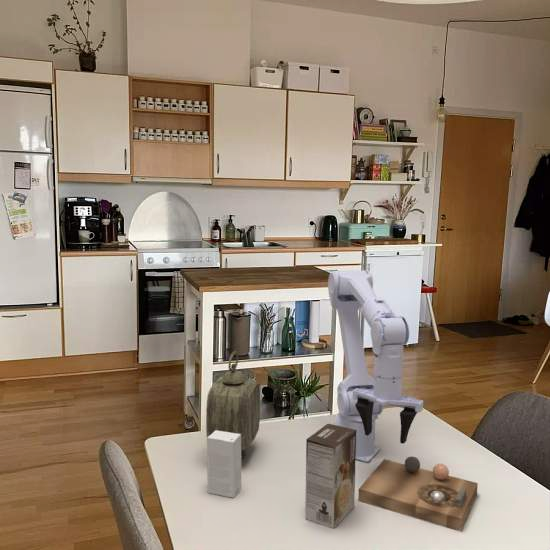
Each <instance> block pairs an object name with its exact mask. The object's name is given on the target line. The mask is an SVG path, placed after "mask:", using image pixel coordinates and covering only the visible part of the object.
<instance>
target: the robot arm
mask: <svg viewBox="0 0 550 550" xmlns="http://www.w3.org/2000/svg"><path fill="white" fill-rule="evenodd" d="M327 280H328V282H327V290H328V295H329V296H328V297H329V302H330V306H331V307H332V308H334V309H335V310H336V311H337V316H338V321H339V327H340V329H339V330H340V335H341V341H342V349H343V356H344V363H345V369H346V371H345V372H346V376H345V378H344V379H343V380H341V381H340V382H339V384H338V386H337V391H336V392H337V397H336V398H337V399H336V400H337V401H336V403H337V410H338V413H337V414H336V415H335V418H334V421H333V424H332V425H337V426H342V427H346V428H350V429H354V430H357V431H356V460H357V461H361V462H365V463H369V462H371V460H372V459H373V458H374V457H375V456H376V455H377V454H378V452H379V451H380V450H381V449H380V447H378V446H375V439H376V438H375V433H376V420H378V419H379V416H380V415H381V414H382V413H383V410H384V409H385V408H384V407H385V406H391V407H396V408H401V409H402V410H401V411H400V412H399V419H400V436H399V437H400V438H399V440H400V441H399V442H400V444H402V445H404V444H405V443H406V442H407V439H408V434H409V432H410V428H411V427H412V423H413V421H414V420H415V417H416V415H417V414H418V413H421V412H422V411H423V410H424V400H422V399H417V398H415V397H412V396H408V395H404V394H402V388H403V386H402V384H403V364H404V346H405V345H407V344H408V342H409V339H410V327H409V323H408V321H407V319H406V317H405V316H401V315H400V316H399V315H396V314H395V313H394V312H393V310H392V309H391V307H390V306H389V305H388V303H387V302H386V300H384V298H383V297H378V296H377V295H376V293H375V291H374V289H373V288H374V279H373V275H372V273H371V271H370V270H368V269H364V270H334V269H333V270H332V271H331V272H330V273H329V276H328V279H327ZM359 309H361V314H362V317H363V318H364V320H365V321H366V323H367V325H368V326H369V327H370V338H371V343H372V345H371V346H372V349H371V350H372V352H373V353H374V359H373V360H374V363H373V364H374V366H373V377H372V375H369V373H368V369H367V362H366V355H365V349H364V344H363V343H364V342H363V336H362V330H361V323H360V317H359Z"/></svg>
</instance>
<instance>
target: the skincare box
mask: <svg viewBox="0 0 550 550" xmlns="http://www.w3.org/2000/svg"><path fill="white" fill-rule="evenodd" d="M206 449H207V450H206V453H207V454H206V456H207V457H206V459H207V460H206V461H207V463H206V464H207V465H206V467H207V471H206V472H207V493H208V494H213V495H217V496H222V497H228V498H235V497H236V496H237V495H238V493H239V492H240V491H241V489H242V457H241V434H237V433H230V432H224V431H217V430H215V431H214V432H213V433H212V434H211V435H210V436H209V437H207V436H206Z"/></svg>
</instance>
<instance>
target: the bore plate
mask: <svg viewBox="0 0 550 550" xmlns="http://www.w3.org/2000/svg"><path fill="white" fill-rule="evenodd" d="M478 485H479V483H478V482H475V481H471V480H468V479H463V478H459V477H455V476H452V475H448V477H447V478H446V479H444V480H439V479H437V478H436V477H435V476H434V474H433V470H428V469H424V468H419V470H418V471H416V472H409V471H408V470H407V469H406V468H405V463H401V462H396V461H392V460H389V459H387V458H386V459H385V458H383V460H382V461H381V462H380V463H379V464H378V465H377V466H376V468H375V469H374V470H373V472H372V473H371V474H369V476H368V477H367V478H366V480H364V482H363V483H362V484H361V485H360V487H359V488H358V498H357V499H358V501H359V502H362V503H366V504H368V505H373V506H376V507H379V508H381V509H386V510H389V511H392V512H396V513H398V514H402V515H405V516H408V517H411V518H415V519H419V520H422V521H424V522H425V521H426V522H429V523H432V524H435V525H438V526H440V527H445V528H449V529H452V530H455V531H458V532H462V530H463V527H464V525H465V523H466V520H467V518H468V516H469V515H470V511H471V509H472V507H473V505H474V502H475V500H476V498H477V495H478ZM433 491H440V492H442V493H443V494H444V495H445V498H446V502H439V501H436V500H433V499H431V498H430V497H429V495H430V493H431V492H433Z"/></svg>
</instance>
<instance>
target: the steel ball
mask: <svg viewBox="0 0 550 550" xmlns="http://www.w3.org/2000/svg"><path fill="white" fill-rule="evenodd" d="M429 497H430V498H431V499H433V500H436V501H439V502H446V498H445V495H444V494H443V493H442V492H440V491H433V492H431V493H430V495H429Z"/></svg>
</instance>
